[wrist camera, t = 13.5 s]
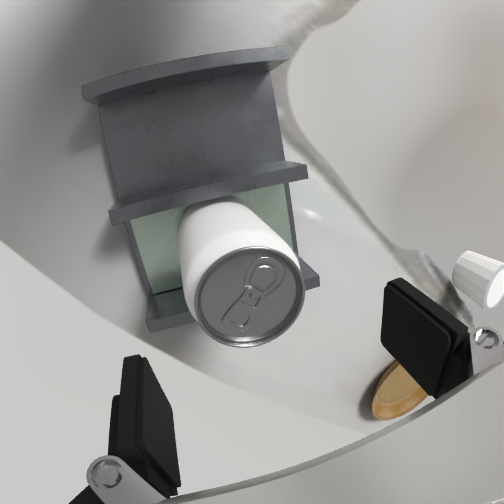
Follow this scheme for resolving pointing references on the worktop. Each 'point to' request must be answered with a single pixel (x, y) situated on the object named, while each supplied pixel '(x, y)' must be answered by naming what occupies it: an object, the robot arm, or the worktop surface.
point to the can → (238, 274)
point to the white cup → (480, 279)
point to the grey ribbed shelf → (194, 158)
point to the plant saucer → (396, 393)
